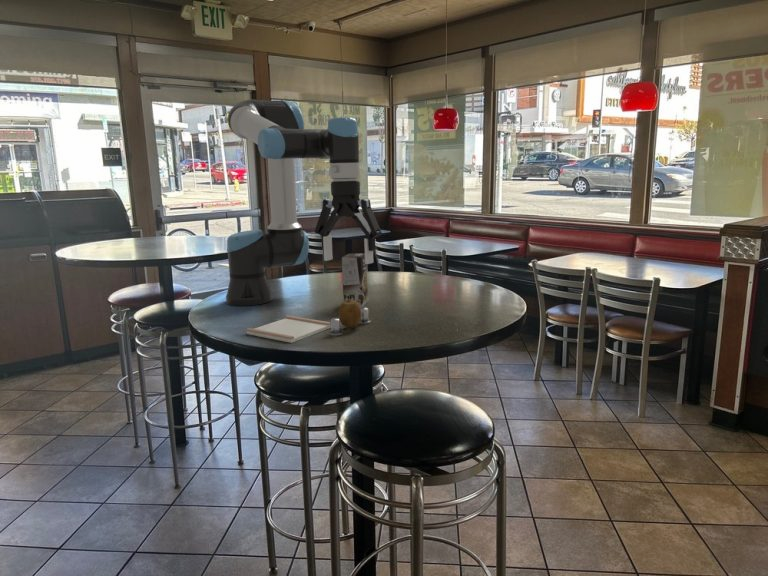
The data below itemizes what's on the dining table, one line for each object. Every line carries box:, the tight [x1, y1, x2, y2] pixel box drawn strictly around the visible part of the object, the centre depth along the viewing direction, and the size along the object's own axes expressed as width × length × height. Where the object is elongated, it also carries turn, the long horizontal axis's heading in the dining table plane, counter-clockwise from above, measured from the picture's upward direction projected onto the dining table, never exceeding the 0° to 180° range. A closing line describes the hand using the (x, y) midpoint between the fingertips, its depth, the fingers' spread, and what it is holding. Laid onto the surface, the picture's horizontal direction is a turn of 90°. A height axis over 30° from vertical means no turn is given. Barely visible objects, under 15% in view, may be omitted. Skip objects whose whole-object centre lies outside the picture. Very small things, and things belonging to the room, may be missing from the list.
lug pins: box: [328, 307, 372, 337], centre depth 150 cm, size 4×17×4 cm, turn 146°
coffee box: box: [341, 252, 369, 308], centre depth 176 cm, size 9×6×16 cm
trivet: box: [246, 315, 331, 344], centre depth 149 cm, size 16×16×1 cm
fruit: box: [338, 299, 361, 329], centre depth 150 cm, size 6×6×8 cm
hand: (348, 261), depth 147 cm, fingers open, 13 cm apart
